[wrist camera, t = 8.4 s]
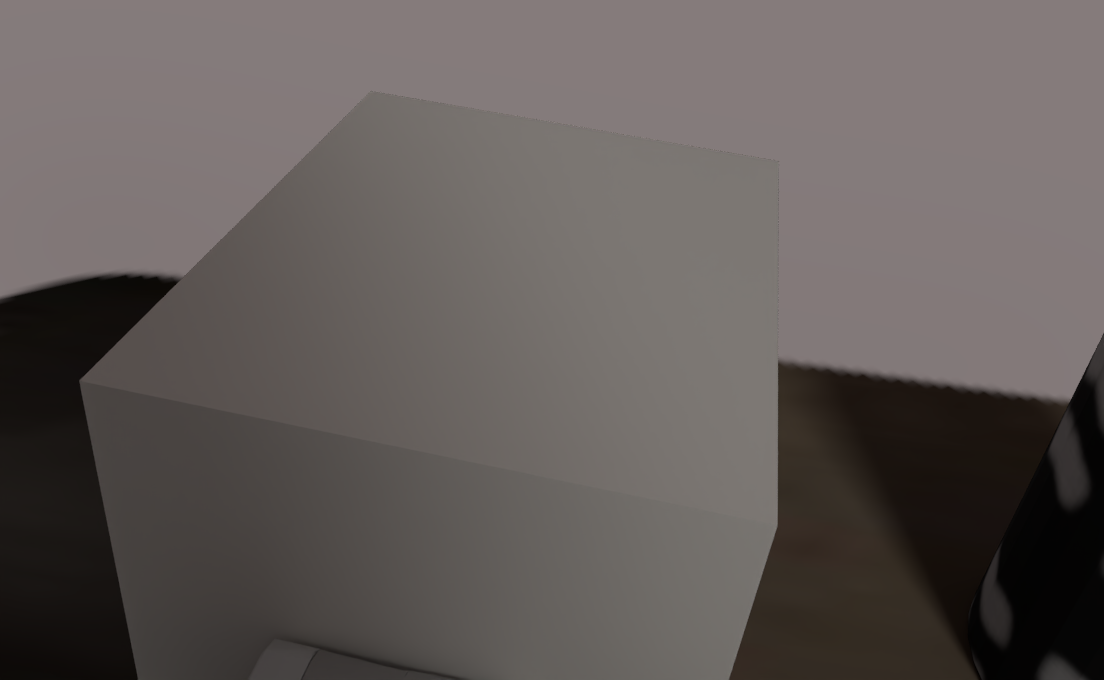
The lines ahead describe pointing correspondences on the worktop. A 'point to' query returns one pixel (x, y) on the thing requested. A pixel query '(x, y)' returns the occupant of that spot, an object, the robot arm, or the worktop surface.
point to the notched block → (457, 410)
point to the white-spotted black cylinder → (1051, 559)
